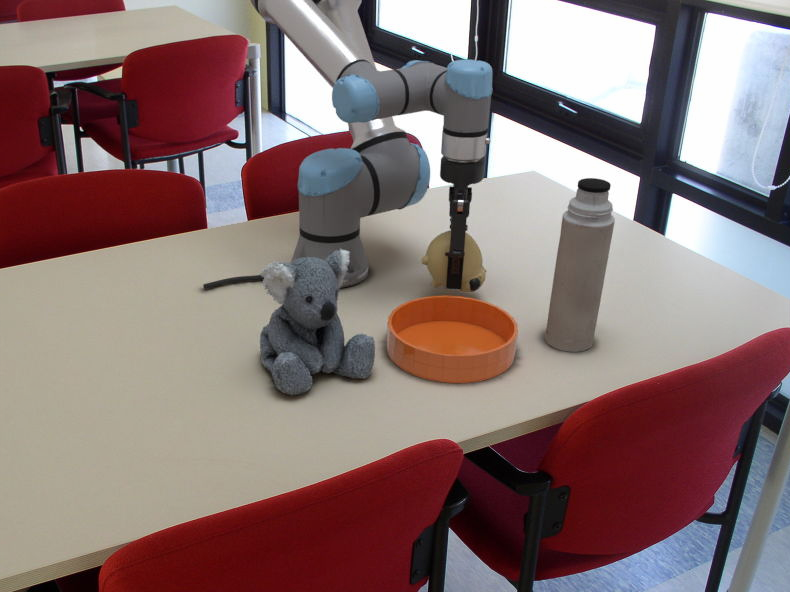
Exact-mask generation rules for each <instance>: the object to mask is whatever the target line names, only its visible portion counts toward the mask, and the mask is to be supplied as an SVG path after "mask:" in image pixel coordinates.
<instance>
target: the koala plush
mask: <svg viewBox="0 0 790 592" xmlns="http://www.w3.org/2000/svg"><path fill="white" fill-rule="evenodd" d="M349 255H350V252H349V251H346V250H341V248H340V251H339V250H338V251H337V250H336V251H334V252H333V253H332V254H331V255H330V256H327V258H325V260H322V259H318V258H317V257H311V258H310V257H307V258H305V257H303V258H299V259H297V260H295V261H293V262H292V263H291V262H290V263H289V262H284V261H280V262H279V261H276V260H274V261H273V262H270V263H269V264H267V266H266V267H264V268H263V270H262V271H261V272H260V273H259V275H261V276H262V277H264V280H262V283H261V284H262V285H263V288H264V291H266V294H267V295H269V296H271V297H272V299H273V301H275V302H276V303H277V304H279V305H280V306H279V307H278V308H277V309H274V311H273V312H272V313H271V314H270V315H271V316H270V318H269V321H268V324H266V325H264V326H263V327H262V330H261V332H260V335H259V349H260V361H261V364H262V365H263V367H264V368H265V369H267V370H268V372H270V373H271V376H272V379H273V382H274V384H275V387H276V389H277V390H278V391H280V392H281V393H283V394H286V395H289V396H296V395H302V394H304V393H306V392H309V390H310V389H311V386H313V376H312V375H315V374H317V373H319V372H321V371H322V372H323V373H327V374H331V373H334V374H337V375H339V376H342V377H347V378H350V379H360V380H361V379H362V380H363V379H368V377H369V376H370V374H371V372H372V370H373V367H374V365H375V364H374V363H375V357H376V341H375V338H374V336H372V335H367V333H362V332H361V333H356V334H355V335H353V336H351V338H350V339H348V341H347V342H346V344H345V333H344V328H343V325H342V321H341V319H340V316H339V314H338V300H339V299H338V297H339V292H340V289H341V288H340V287H341V286H342V283H343V278H344V276H345V274H346V271H347V270H348V268H347V266H348V265H349V262H350V261H349V258H350V256H349Z"/></svg>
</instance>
